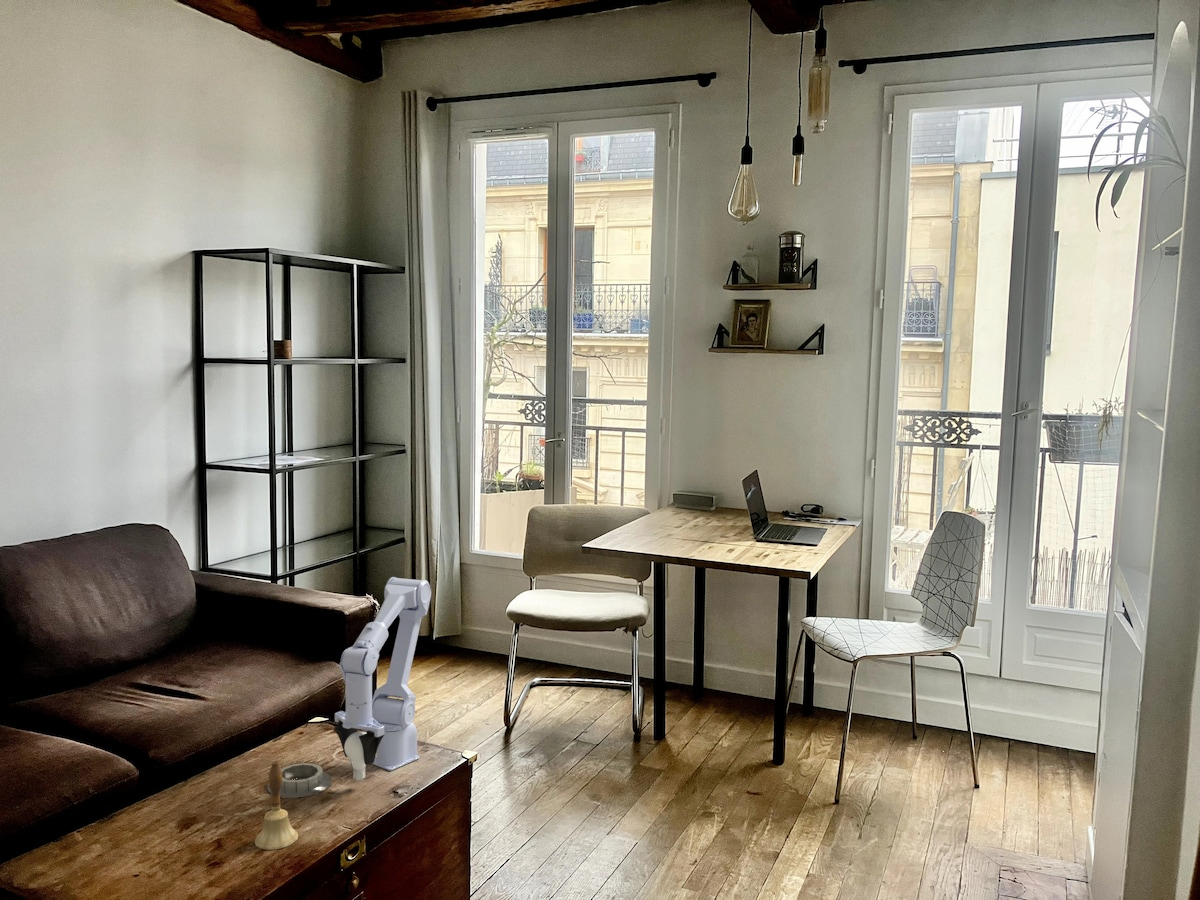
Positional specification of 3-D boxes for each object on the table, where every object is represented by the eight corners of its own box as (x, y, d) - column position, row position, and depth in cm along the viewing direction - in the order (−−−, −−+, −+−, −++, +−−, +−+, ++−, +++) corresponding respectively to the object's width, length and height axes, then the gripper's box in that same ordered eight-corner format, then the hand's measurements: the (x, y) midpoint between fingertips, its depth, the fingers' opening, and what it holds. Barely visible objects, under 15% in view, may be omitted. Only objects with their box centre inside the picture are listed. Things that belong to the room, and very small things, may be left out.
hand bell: (245, 841, 186) (244, 764, 185) (280, 825, 193) (280, 750, 192) (272, 854, 182) (271, 775, 180) (307, 837, 189) (306, 761, 187)
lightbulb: (377, 774, 213) (377, 727, 212) (368, 786, 207) (367, 738, 206) (350, 773, 214) (350, 726, 213) (340, 785, 208) (339, 737, 207)
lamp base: (306, 765, 222) (306, 754, 222) (344, 782, 214) (344, 770, 213) (254, 786, 210) (253, 774, 210) (292, 804, 202) (292, 792, 202)
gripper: (323, 698, 210) (324, 756, 211) (366, 713, 201) (366, 774, 203) (348, 689, 216) (349, 746, 217) (391, 704, 207) (391, 763, 208)
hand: (359, 759), depth 210 cm, fingers closed on lightbulb, 6 cm apart
